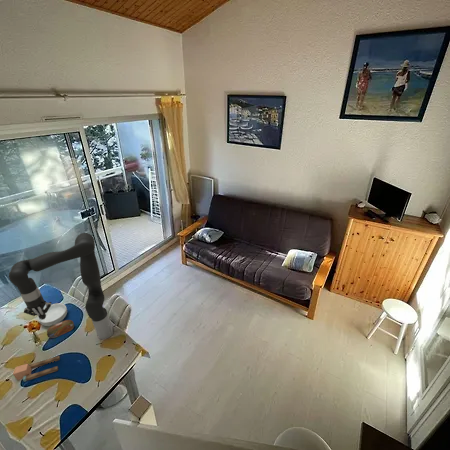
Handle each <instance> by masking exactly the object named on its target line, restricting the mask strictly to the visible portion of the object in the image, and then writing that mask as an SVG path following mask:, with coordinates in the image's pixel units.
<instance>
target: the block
mask: <svg viewBox="0 0 450 450" xmlns="http://www.w3.org/2000/svg"><path fill="white" fill-rule="evenodd" d="M29 365H30V363H25V364H21V365H18V366H15V367H14V370H13V372H12V375H13V377H14V378H15V380H17V381H19V380H23V377H24V376H28V375H31V374H32V369H31V367H30V366H29Z"/></svg>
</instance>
